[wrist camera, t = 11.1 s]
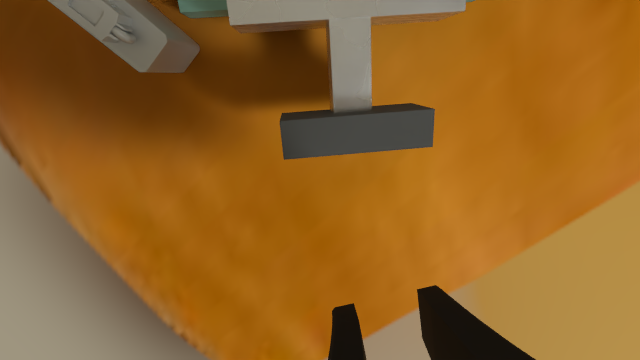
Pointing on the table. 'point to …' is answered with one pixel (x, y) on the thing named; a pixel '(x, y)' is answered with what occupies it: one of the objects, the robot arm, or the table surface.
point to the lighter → (134, 33)
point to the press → (208, 8)
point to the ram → (346, 73)
